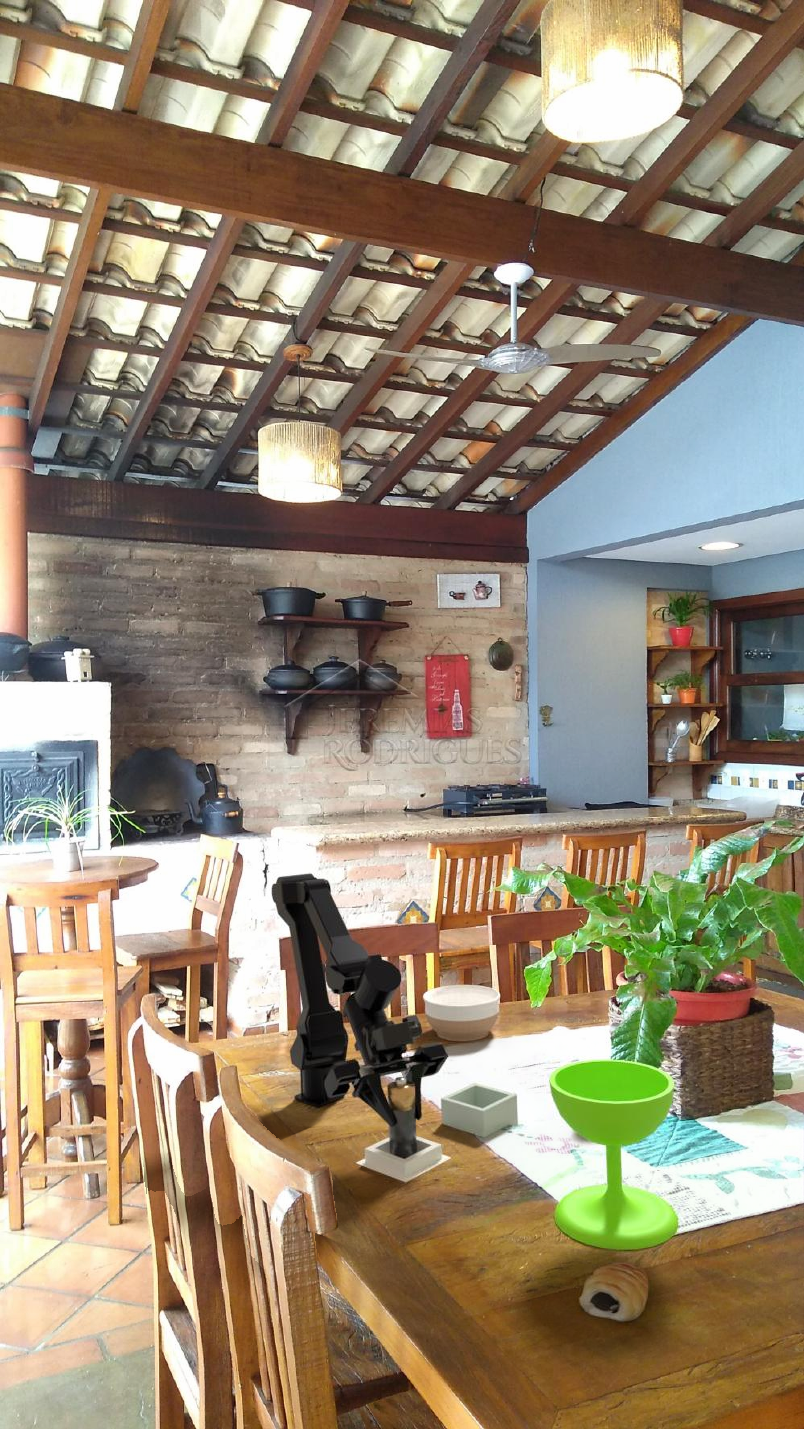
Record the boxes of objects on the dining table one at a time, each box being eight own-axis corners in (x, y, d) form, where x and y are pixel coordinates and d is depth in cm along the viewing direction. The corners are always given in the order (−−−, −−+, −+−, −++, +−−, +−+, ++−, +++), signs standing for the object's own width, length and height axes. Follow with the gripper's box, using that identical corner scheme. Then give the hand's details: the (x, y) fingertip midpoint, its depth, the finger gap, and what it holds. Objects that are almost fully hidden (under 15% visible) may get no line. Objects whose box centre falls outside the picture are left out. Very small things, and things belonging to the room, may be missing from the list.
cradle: (355, 1169, 153) (355, 1149, 153) (401, 1147, 160) (401, 1127, 160) (406, 1189, 146) (405, 1167, 146) (451, 1164, 153) (451, 1144, 153)
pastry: (606, 1273, 123) (605, 1241, 123) (662, 1288, 119) (661, 1255, 119) (576, 1314, 115) (575, 1279, 115) (635, 1332, 111) (634, 1296, 111)
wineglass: (531, 1205, 140) (526, 1071, 140) (630, 1180, 146) (625, 1052, 146) (598, 1262, 125) (593, 1112, 125) (705, 1231, 131) (700, 1089, 131)
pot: (442, 1129, 166) (441, 1098, 166) (475, 1113, 172) (474, 1083, 172) (484, 1143, 160) (483, 1111, 160) (517, 1125, 166) (516, 1094, 166)
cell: (384, 1161, 153) (381, 1079, 153) (402, 1152, 156) (400, 1072, 156) (404, 1168, 150) (401, 1085, 150) (423, 1159, 153) (420, 1077, 153)
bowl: (504, 1044, 207) (503, 1004, 207) (424, 1046, 207) (423, 1007, 207) (498, 1020, 223) (497, 983, 223) (423, 1022, 223) (422, 985, 223)
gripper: (329, 1009, 152) (364, 1109, 142) (440, 989, 160) (480, 1082, 151) (310, 1048, 159) (342, 1146, 149) (417, 1027, 168) (454, 1118, 158)
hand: (406, 1122), depth 152 cm, fingers closed on cell, 4 cm apart
